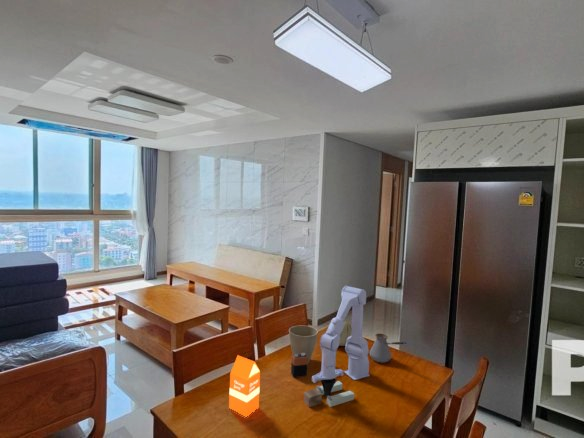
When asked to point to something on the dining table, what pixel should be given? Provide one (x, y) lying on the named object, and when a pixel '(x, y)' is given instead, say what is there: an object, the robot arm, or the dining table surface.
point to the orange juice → (244, 386)
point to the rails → (339, 397)
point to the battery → (299, 365)
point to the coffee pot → (382, 348)
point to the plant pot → (303, 340)
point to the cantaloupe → (345, 334)
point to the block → (312, 397)
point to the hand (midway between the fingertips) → (326, 395)
